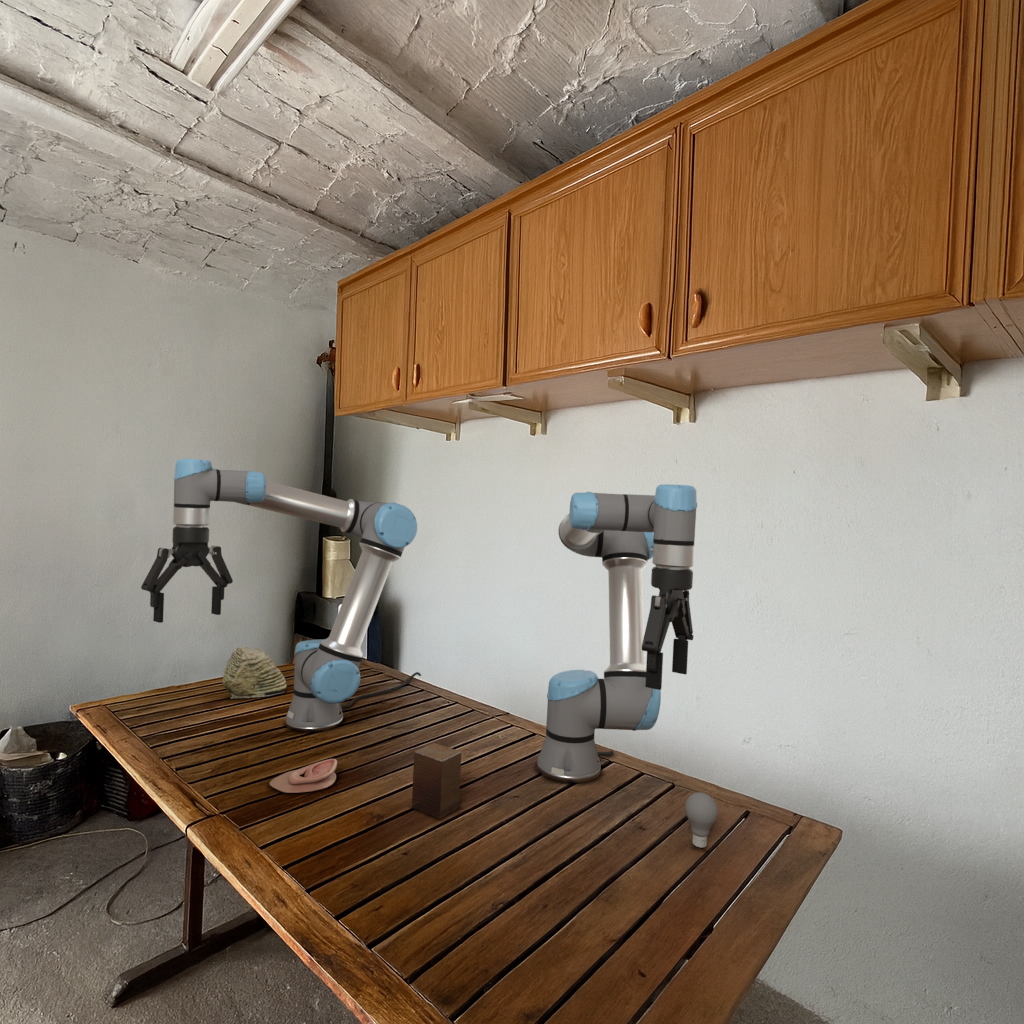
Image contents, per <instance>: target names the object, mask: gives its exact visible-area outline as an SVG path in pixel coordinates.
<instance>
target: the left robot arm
mask: <svg viewBox="0 0 1024 1024" xmlns="http://www.w3.org/2000/svg"><path fill="white" fill-rule="evenodd" d="M211 502H228V503H237V504H240V505H244V506H245V505H246V506H250V507H254V508H258V509H262V510H267V511H269V512H275V513H279V514H284V515H287V516H291V517H295V518H300V519H303V520H307V521H312V522H316V523H319V524H325V525H328V526H333V527H335V528H336V527H337V528H339V529H340V531H341V532H343V533H346V534H349V535H353V536H355V537H358V538H360V540H359V543H358V544H359V546H360V549H361V553H360V557H359V559H358V562H357V564H356V567H355V569H354V572H353V575H352V577H351V579H350V582H349V585H348V587H347V590H346V593H345V594H344V597H343V600H342V603H341V605H340V607H339V610H338V613H337V615H336V618H335V621H334V623H333V625H332V628H331V631H330V632H329V633H330V634H329V636H328V637H327V638H324V639H307V640H302V641H299V642H297V644H295V650H294V655H293V656H294V672H293V673H294V674H293V695H292V696H293V697H292V699H291V702H290V704H289V708H288V711H287V713H286V715H285V726H286V728H287V729H289V730H291V731H294V732H295V731H296V732H301V733H316V732H325V731H329V730H332V729H335V728H337V727H339V726H340V725H342V723H343V722H344V714H343V709H347V708H349V707H351V706H352V705H353V703H354V702H356V701H358V700H360V699H365V698H370V697H374V696H378V695H383V694H386V693H390V692H393V691H395V690H398V689H401V688H403V687H404V686H406V685H407V684H408V683H409V682H410V680H412V679H413V678H414V677H416V676H417V675H418V676H419V677H421V676H422V674H421V673H420V672H419V671H416V672H414V673H413V674H411V675H410V676H409V677H408V678H407V679H406V680H405V681H404V682H403V683H400V684H399V685H396V686H394V687H391V688H388V689H384V690H380V691H376V692H371V693H366V694H362V695H359V696H356V697H354V698H352V697H353V696H354V695H355V694H356V693H357V691H358V690H359V687H360V684H361V672H360V670H359V668H360V667H361V663H362V661H363V658H364V653H363V651H362V649H361V647H362V644H363V642H364V640H365V636H366V633H367V631H368V628H369V626H370V623H371V621H372V618H373V616H374V612H375V610H376V607H377V605H378V602H379V599H380V596H381V595H382V592H383V589H384V587H385V584H386V581H387V578H388V577H389V574H390V570H391V569H392V566H393V563H394V562H396V561H398V560H400V559H401V558H402V556H403V553H404V550H405V548H406V547H408V546H409V545H410V544H412V542H413V541H414V540H415V538H416V536H417V533H418V521H417V518H416V516H415V513H414V512H413V511H412V510H411V509H410V508H408V507H407V506H405V505H403V504H400V503H397V502H381V501H363V500H357V499H353V498H350V499H348V500H343V499H339V498H336V497H332V496H328V495H324V494H320V493H316V492H312V491H309V490H304V489H301V488H297V487H295V486H289V485H285V484H282V483H279V482H274V481H270V480H267V479H266V476H265V474H264V473H263V472H260V471H253V470H238V469H237V470H233V469H216V468H213V464H212V462H211V460H208V459H196V458H195V459H194V458H180V459H178V460H177V461H176V462H175V469H174V477H173V515H172V516H173V517H172V518H173V519H172V520H173V521H172V523H173V525H175V526H173V528H172V541H171V542H172V548H166V547H158V549H157V553H156V557H155V560H154V561H153V564H152V565H151V567H150V569H149V571H148V573H147V575H146V576H145V579H144V580H143V583H142V584H141V586H140V589H141V590H142V591H146V592H149V594H150V595H149V596H150V598H149V600H150V601H149V606H150V607H151V608H152V609H153V618H152V619H153V620H152V621H153V622H155V623H159V624H161V623H164V608H165V607H164V605H165V592H162V590H163V589H164V588H165V587H166V586H167V584H168V583H169V582H170V581H171V580H172V578H173V577H174V576H175V575H176V574H177V572H178V571H180V570H181V569H182V568H190V567H200V568H201V569H202V571H204V573H205V574H206V575H207V576H208V578H209V579H210V580H211V581H212V582H213V583H214V585H213V586H211V610H210V611H211V614H212V615H215V616H216V615H217V616H220V615H221V614H222V601H224V600H225V588H227V587H228V586H229V584H232V583H233V582H234V579H233V578H232V575H231V573H230V571H229V568H228V566H227V564H226V562H225V559H224V558H223V555H222V547H221V546H218V545H211V546H209V542H210V528H209V527H208V526H209V525H210V522H211V519H210V518H211ZM208 556H211V558H212V561H213V563H214V565H215V568H216V569H215V568H214V567H213V566H212V565H211V562H210V561H209V559H208V558H207V557H208ZM170 557H173V558H172V560H171V561H170V562H169V563H168V566H167V567H166V568H165V569H164V567H165V565H166V564H167V562H168V559H169V558H170ZM163 569H164V571H163ZM162 571H163V572H162ZM351 698H352V699H351ZM349 699H351V700H350V701H349V703H347V704H341V703H344V702H346V701H348V700H349Z"/></svg>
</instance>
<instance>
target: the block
mask: <svg viewBox="0 0 1024 1024" xmlns="http://www.w3.org/2000/svg"><path fill="white" fill-rule="evenodd" d="M461 764H462V751H459V750H456V749H454V748H451V747H448V746H445V745H441V744H438V743H436V742H432V743H430V744H428V745H426V746H423V747H421V748H418V749H417V750H415V751H413V768H412V769H413V770H412V794H411V795H412V796H411V809H414V810H416V811H419V812H421V813H423V814H426V815H428V816H431V817H433V818H435V819H437V820H441V819H443V818H445V817H446V816H448V815H450V814H452V813H453V812H455V811H457V810H458V809H460V796H461V795H460V793H461V769H462V765H461Z"/></svg>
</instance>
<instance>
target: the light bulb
mask: <svg viewBox="0 0 1024 1024" xmlns="http://www.w3.org/2000/svg"><path fill="white" fill-rule="evenodd" d="M685 801H686V802H685V804H684V811H685V815H686V817H687V820H688V821H689V824H690V828H691V832H692V845H694V846H695V847H696V848H700V849H702V848H706V847H707V842H708V836H709V835H710V830H711V828H712V826H713V825H714V824H715V822H716V821H717V818H718V814H719V809H718V805H717V803H716V801H715V799H713V797H712V796H710V795H709V794H707V793H705V792H694V793H693V794H691V795H689V796H688V798H687V799H686V800H685Z"/></svg>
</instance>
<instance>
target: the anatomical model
mask: <svg viewBox="0 0 1024 1024" xmlns="http://www.w3.org/2000/svg"><path fill="white" fill-rule="evenodd" d="M337 766H338V760H337V759H336V758H329V759H324V760H321V761H318V762H315V763H314V762H313V763H312V764H309V765H306V766H303V767H301V768H298V769H294V770H289V771H287V772H284V773H282V774H279V775H277V776H276V777H274V778H273V779H271V780H270V781H269V786H270V787H272V788H273V789H275V790H277V791H279V792H282V793H286V794H294V793H295V794H296V793H297V794H299V793H306V792H307V793H308V792H315V791H319V790H320V791H321V790H323V789H326V788H328V787H330V786H332V785H333V784H334V783H335V782H336V780H337V773H335V771H336V769H337V768H338V767H337Z"/></svg>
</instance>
